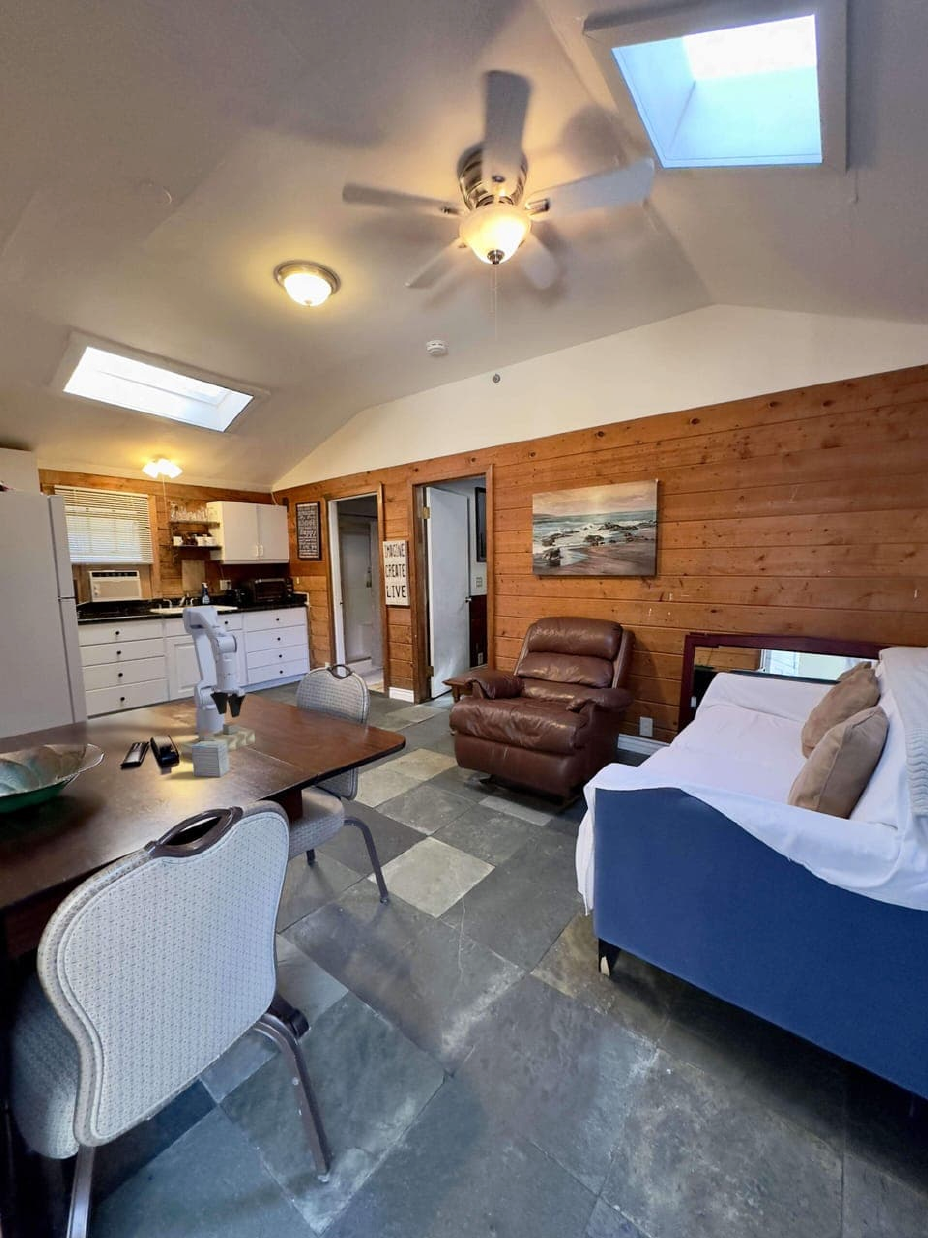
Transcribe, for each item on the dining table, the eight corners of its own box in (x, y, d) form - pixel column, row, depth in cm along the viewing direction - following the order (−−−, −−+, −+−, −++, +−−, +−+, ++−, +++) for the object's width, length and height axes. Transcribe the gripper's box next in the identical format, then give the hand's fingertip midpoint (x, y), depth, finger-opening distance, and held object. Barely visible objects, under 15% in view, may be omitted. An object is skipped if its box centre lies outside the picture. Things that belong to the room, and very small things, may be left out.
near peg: (204, 746, 145) (203, 733, 144) (199, 744, 146) (198, 732, 146) (214, 743, 147) (213, 730, 147) (208, 741, 149) (207, 729, 148)
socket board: (201, 762, 140) (200, 749, 140) (181, 756, 145) (180, 743, 145) (254, 742, 156) (254, 730, 155) (235, 737, 161) (234, 725, 160)
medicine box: (230, 770, 135) (227, 741, 134) (220, 777, 130) (218, 747, 129) (203, 769, 135) (201, 740, 134) (193, 776, 131) (190, 746, 130)
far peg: (229, 738, 152) (228, 726, 151) (223, 736, 153) (222, 724, 153) (237, 735, 154) (236, 723, 154) (232, 733, 156) (231, 721, 155)
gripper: (200, 673, 152) (203, 715, 153) (228, 678, 144) (231, 722, 146) (221, 669, 158) (224, 709, 159) (249, 674, 150) (252, 715, 152)
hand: (229, 715), depth 153 cm, fingers open, 6 cm apart
